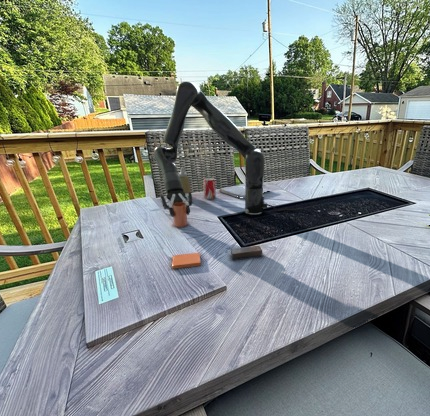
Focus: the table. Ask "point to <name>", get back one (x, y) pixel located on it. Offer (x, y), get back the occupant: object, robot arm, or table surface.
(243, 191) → the notebook
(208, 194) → the soda can
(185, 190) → the squeeze bottle
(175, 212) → the pot
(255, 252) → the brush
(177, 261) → the orange rectangular slab
